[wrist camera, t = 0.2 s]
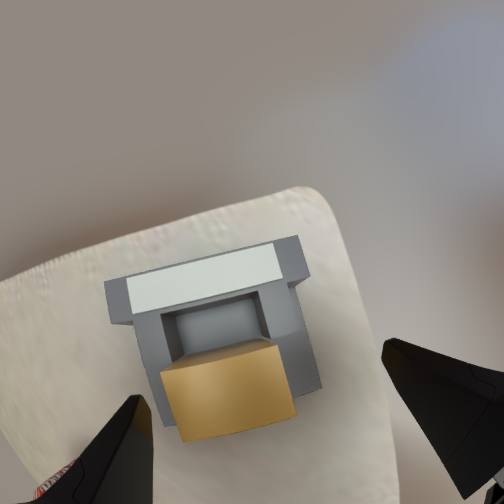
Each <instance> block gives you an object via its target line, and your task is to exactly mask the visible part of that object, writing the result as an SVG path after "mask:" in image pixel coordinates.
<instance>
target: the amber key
mask: <svg viewBox="0 0 504 504" xmlns="http://www.w3.org/2000/svg"><path fill="white" fill-rule="evenodd" d="M160 374H161V378H162V381H163V384H164V388H165V391H166V394H167V397H168V400H169V403H170V407H171V410H172V412H173V415H174V418H175V421H176V424H177V427H178V429H179V432H180V435H181V438H182V440H183V442H187V441H194V440H200V439H206V438H212V437H217V436H222V435H227V434H232V433H237V432H241V431H245V430H249V429H254V428H257V427H261V426H265V425H269V424H272V423H276V422H279V421H282V420H286V419H289V418H292V417H295V416H297V414H296V410H295V407H294V403H293V400H292V396H291V392H290V389H289V385H288V381H287V378H286V374H285V371H284V367H283V363H282V360H281V356H280V352H279V349H278V345H276V344H274V343H272V342H269V341H267V340H264V339H262V338H260V337H259V338H255V339H252V340H248V341H244V342H240V343H236V344H232V345H228V346H224V347H220V348H216V349H211V350H207V351H203V352H198V353H193V354H189V355H186V356H185V357H183V358H182V359H180V360H179V361H177V362H176V363H174V364H172V365H171V366H169V367H168V368H166V369H164V370H163V371H161V372H160Z"/></svg>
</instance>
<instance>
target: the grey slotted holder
mask: <svg viewBox="0 0 504 504" xmlns="http://www.w3.org/2000/svg"><path fill="white" fill-rule="evenodd" d="M308 277H310V273H309V270H308V267H307V263H306V260H305V257H304V254H303V250H302V247H301V244H300V241H299V238H298V235H295V236H291V237H286V238H282V239H278V240H274V241H270V242H265V243H261V244H257V245H253V246H249V247H244V248H240V249H236V250H232V251H228V252H223V253H219V254H215V255H211V256H207V257H203V258H199V259H194V260H190V261H186V262H182V263H178V264H174V265H170V266H166V267H162V268H158V269H153V270H149V271H145V272H141V273H137V274H133V275H129V276H125V277H121V278H117V279H113V280H109V281H105V282H104V286H105V293H106V299H107V305H108V311H109V316H110V321H111V324H120V325H134V328H135V333H136V337H137V341H138V345H139V349H140V353H141V357H142V361H143V365H144V368H145V369H146V372H147V376H148V379H149V382H150V386H151V389H152V392H153V396H154V399H155V402H156V405H157V408H158V411H159V414H160V417H161V419H162V422H163V425H164V427H165V426H173V425H177V424H176V421H175V418H174V415H173V412H172V410H171V407H170V403H169V400H168V397H167V394H166V391H165V388H164V384H163V381H162V378H161V374H160V372H161V371H163V370H164V369H166V368H168V367H169V366H171V365H172V364H174V363H176V362H177V361H179V360H180V359H182V358H183V357H185V356H186V355H189V354H193V353H198V352H203V351H207V350H211V349H216V348H220V347H224V346H228V345H232V344H236V343H240V342H244V341H248V340H252V339H255V338H259V337H260V338H262V339H264V340H267V341H269V342H272V343H274V344H276V345H278V349H279V352H280V356H281V360H282V363H283V367H284V371H285V374H286V378H287V381H288V385H289V389H290V392H291V396H292V398H295V397H298V396H301V395H304V394H307V393H310V392H313V391H316V390H319V389H321V388H322V386H321V382H320V378H319V374H318V370H317V367H316V363H315V359H314V355H313V351H312V348H311V344H310V340H309V337H308V333H307V329H306V326H305V322H304V319H303V315H302V311H301V308H300V304H299V301H298V297H297V294H296V290H295V286H296V285H298V284H299V283H301V282H302V281H304V280H305V279H307V278H308Z"/></svg>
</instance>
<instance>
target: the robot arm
mask: <svg viewBox="0 0 504 504" xmlns="http://www.w3.org/2000/svg"><path fill="white" fill-rule="evenodd" d="M381 359H382V362H383V365H384V366H385V368H386V370H387V372H388V374H389V376H390V378H391V380H392V382H393V384H394V386H395V388H396V390H397V391H398V393H399V395H400V396H401V398H402V399H403V401H404V402H405V404H406V405H407V407H408V409H409V410H410V412H411V413H412V415H413V416H414V418H415V419H416V421H417V422H418V424H419V426H420V427H421V429H422V430H423V432H424V434H425V435H426V437H427V438H428V440H429V442H430V443H431V445H432V446H433V448H434V450H435V451H436V453H437V455H438V456H439V458H440V460H441V461H442V463H443V464H444V467H445V468H446V470H447V472H448V473H449V475H450V477H451V479H452V480H453V482H454V484H455V486H456V487H457V489H458V491H459V493H460V494H461V496H462V498H463V499H464V500H465V499H467V498H468V497H469V496H471V495H472V494H473V493H474V492H476V491H477V490H478V489H480V488H481V487H482V486H483V485H484V484H485V483H487V482H488V481H489V480H490V479H491V478H492V477H493V478H494V480H495V481H496V483H495V484H494V485H493V486H492V487H491V488H490V489H488V490H487V494H486V498H485V502H484V504H504V372H500V371H495V370H491V369H487V368H483V367H479V366H476V365H473V364H470V363H467V362H464V361H461V360H458V359H454V358H452V357H449V356H446V355H443V354H440V353H437V352H434V351H431V350H428V349H425V348H422V347H420V346H417V345H414V344H411V343H408V342H405V341H403V340H400V339H397V338H391V339H388V340H386V341H385V342H384V344H383V351H382V356H381ZM153 452H154V448H153V433H152V416H151V410H150V408H149V406H148V404H147V403H146V401H145V399H144V397H143V396H142V395H140V394H138V395H131V396H129V397H128V399H127V400H126V401H125V402H124V403H123V405H122V406H121V407H120V408H119V409H118V411H117V412H116V413H115V414H114V415H113V417H112V418H111V419H110V420H109V421H108V423H107V424H106V425H105V426H104V427H103V429H102V430H101V431H100V432H99V433H98V435H97V436H96V437H95V438H94V439H93V441H92V442H91V443H90V444H89V445H88V446H87V448H86V449H85V450H84V451H83V452H82V454H81V455H80V457H78V458H77V460H76V461H75V462H74V463H73V464H72V465H71V467H70V468H69V469H68V470H67V471H66V472H65V473H64V474H63V475H62V476H61V477H60V478H59V479H58V480H57V481H56V482H55V483H54V484H53V485H52V486H51V487H49V488H48V489H47V490H46V491H45V492H44V493H43V494H42V495H41V496H40V497H38V498H37V499H35V500H33V501H30V502H26V503H18V504H153Z"/></svg>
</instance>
